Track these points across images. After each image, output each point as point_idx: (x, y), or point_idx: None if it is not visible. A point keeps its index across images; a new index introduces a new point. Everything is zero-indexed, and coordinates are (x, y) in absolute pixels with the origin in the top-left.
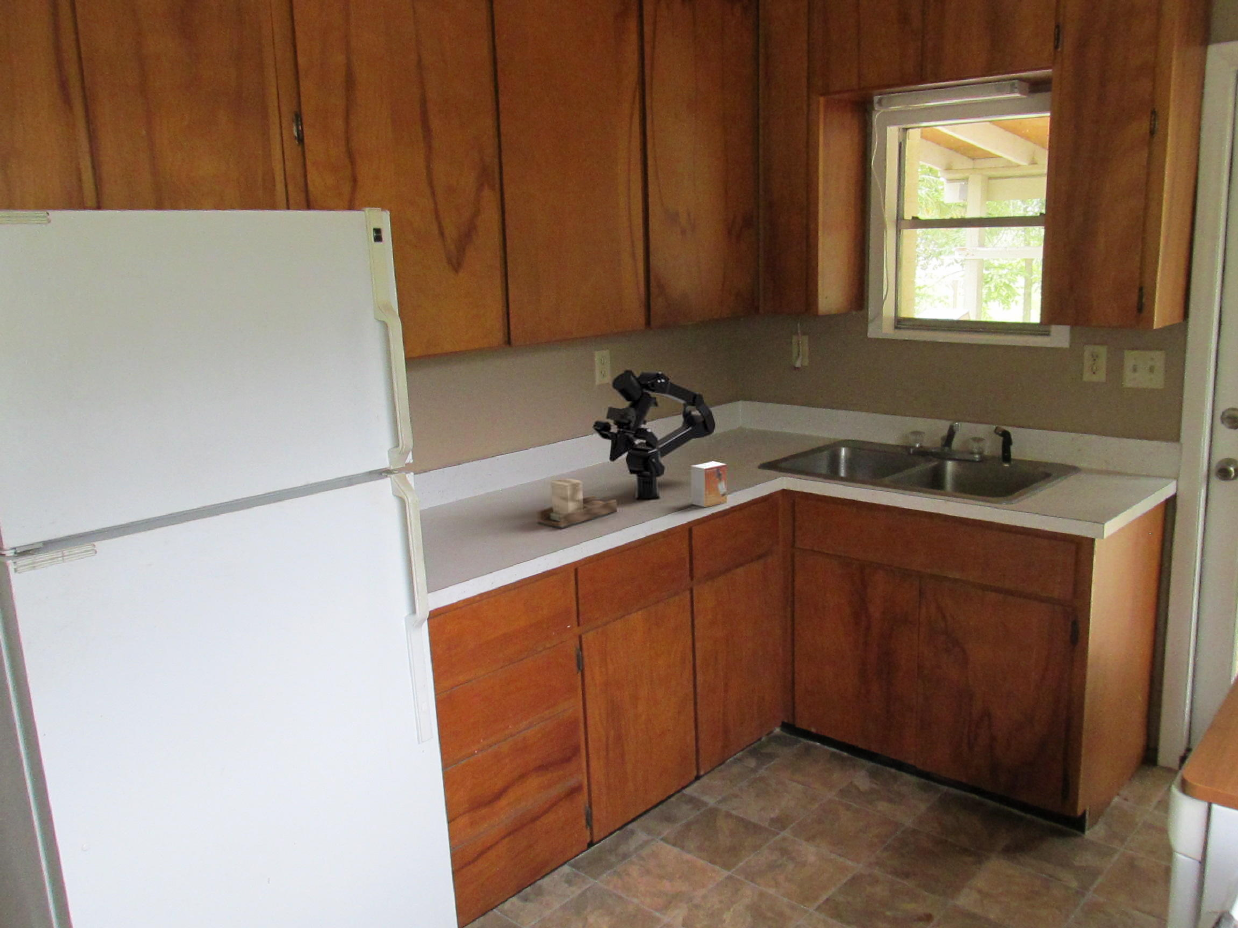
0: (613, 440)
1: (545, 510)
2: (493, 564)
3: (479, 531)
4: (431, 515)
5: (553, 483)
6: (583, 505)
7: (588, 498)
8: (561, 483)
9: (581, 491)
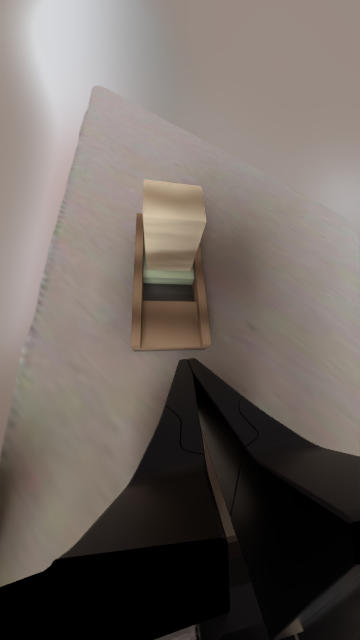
0: (277, 447)
1: None
2: (102, 125)
3: (219, 185)
4: (320, 204)
5: (193, 187)
6: (186, 304)
7: (200, 325)
8: (169, 185)
9: (144, 236)
